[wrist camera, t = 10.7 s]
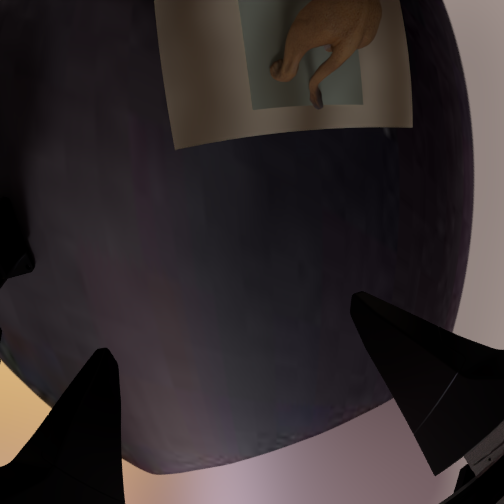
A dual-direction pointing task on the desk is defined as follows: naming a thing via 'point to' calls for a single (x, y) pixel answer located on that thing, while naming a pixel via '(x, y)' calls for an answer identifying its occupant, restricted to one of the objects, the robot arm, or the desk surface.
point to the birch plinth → (260, 80)
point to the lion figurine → (327, 38)
